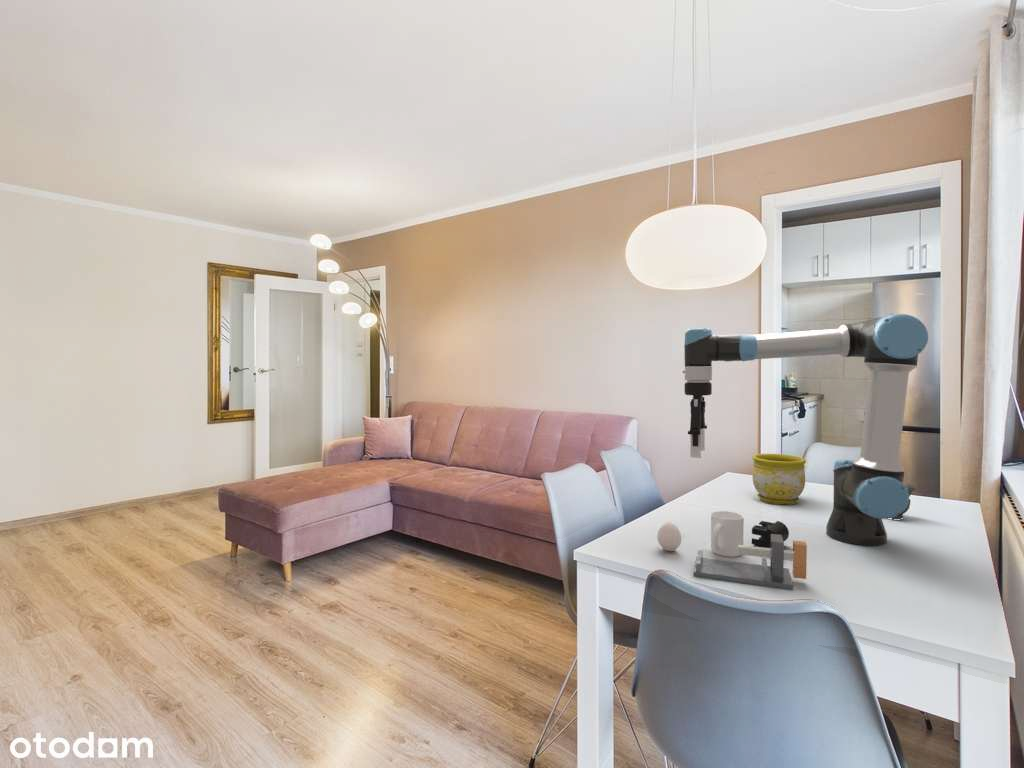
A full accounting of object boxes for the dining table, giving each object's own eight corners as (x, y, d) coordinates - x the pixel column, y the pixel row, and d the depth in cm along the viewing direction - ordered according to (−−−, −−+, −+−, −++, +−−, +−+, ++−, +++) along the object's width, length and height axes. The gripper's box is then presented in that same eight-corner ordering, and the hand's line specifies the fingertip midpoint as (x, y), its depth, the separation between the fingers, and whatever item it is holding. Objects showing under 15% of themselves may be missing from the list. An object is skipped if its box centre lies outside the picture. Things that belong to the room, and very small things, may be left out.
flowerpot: (815, 507, 192) (816, 461, 191) (765, 507, 192) (765, 461, 191) (789, 494, 210) (790, 453, 209) (744, 494, 210) (744, 453, 209)
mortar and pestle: (872, 518, 178) (872, 482, 177) (875, 512, 185) (876, 477, 184) (914, 524, 170) (915, 487, 170) (916, 517, 178) (916, 482, 177)
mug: (728, 563, 138) (729, 524, 138) (698, 555, 144) (699, 517, 144) (748, 552, 146) (748, 515, 146) (719, 544, 152) (719, 509, 152)
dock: (788, 573, 131) (789, 533, 131) (792, 590, 122) (793, 546, 121) (696, 561, 140) (696, 523, 139) (693, 576, 130) (694, 535, 129)
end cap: (778, 555, 144) (778, 531, 143) (751, 549, 148) (751, 525, 148) (789, 546, 151) (789, 522, 151) (762, 540, 156) (762, 517, 156)
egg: (686, 551, 147) (686, 523, 147) (671, 556, 143) (671, 527, 143) (667, 545, 152) (667, 517, 152) (652, 549, 148) (652, 521, 148)
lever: (804, 575, 126) (805, 541, 126) (806, 579, 124) (806, 545, 124) (738, 566, 132) (738, 534, 132) (738, 570, 130) (738, 537, 129)
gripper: (688, 380, 169) (688, 446, 169) (679, 382, 146) (679, 459, 147) (714, 380, 165) (714, 448, 166) (708, 383, 143) (708, 461, 143)
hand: (697, 453), depth 156 cm, fingers open, 13 cm apart
